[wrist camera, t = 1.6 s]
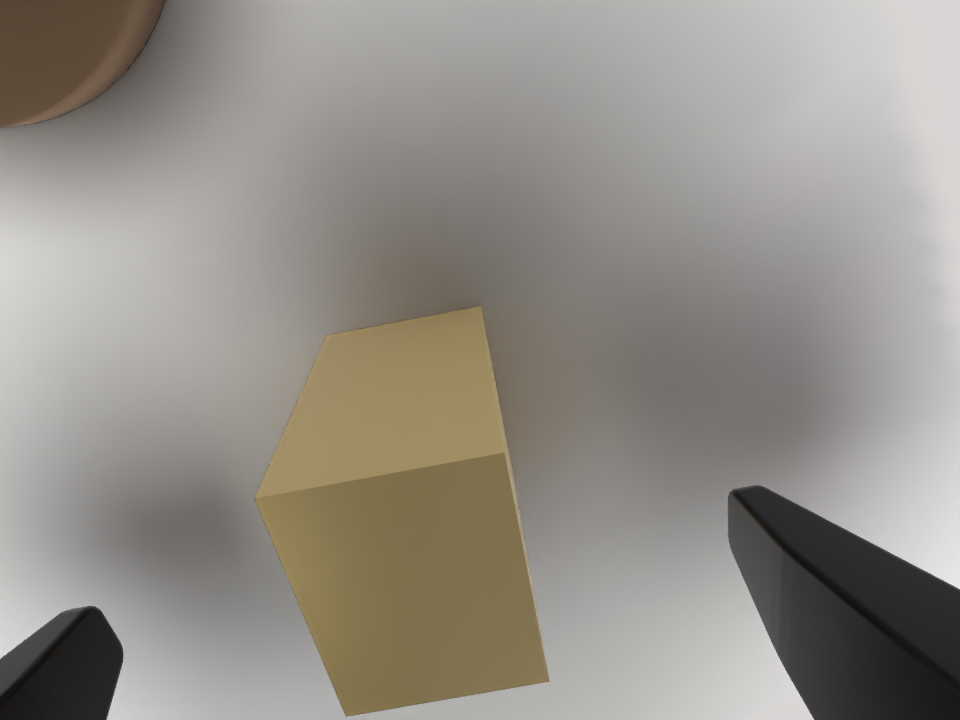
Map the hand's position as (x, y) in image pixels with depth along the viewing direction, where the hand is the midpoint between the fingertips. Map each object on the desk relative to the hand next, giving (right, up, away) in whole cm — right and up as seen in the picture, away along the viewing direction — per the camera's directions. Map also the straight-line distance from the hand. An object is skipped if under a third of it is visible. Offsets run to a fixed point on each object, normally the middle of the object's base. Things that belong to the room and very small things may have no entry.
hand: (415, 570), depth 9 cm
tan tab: (0, +2, +4) cm, 4 cm away
